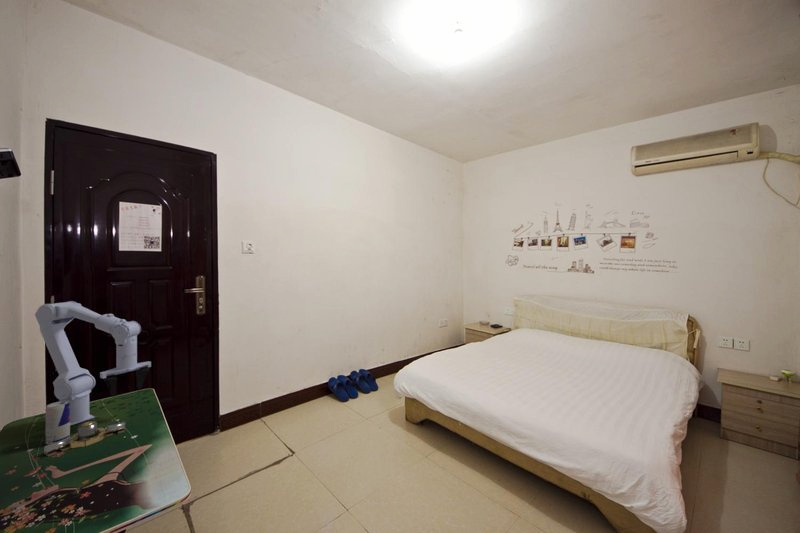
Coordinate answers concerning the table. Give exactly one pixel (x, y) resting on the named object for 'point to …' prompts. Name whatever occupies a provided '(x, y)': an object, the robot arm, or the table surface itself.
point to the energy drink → (57, 421)
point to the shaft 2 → (115, 428)
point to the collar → (87, 442)
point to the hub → (87, 430)
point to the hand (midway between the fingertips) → (126, 391)
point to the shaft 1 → (57, 447)
